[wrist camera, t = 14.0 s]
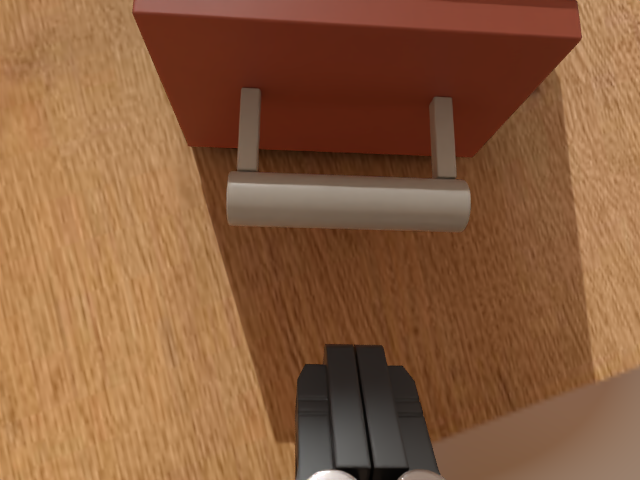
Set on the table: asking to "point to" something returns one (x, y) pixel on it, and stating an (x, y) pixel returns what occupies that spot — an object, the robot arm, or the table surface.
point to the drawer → (352, 95)
